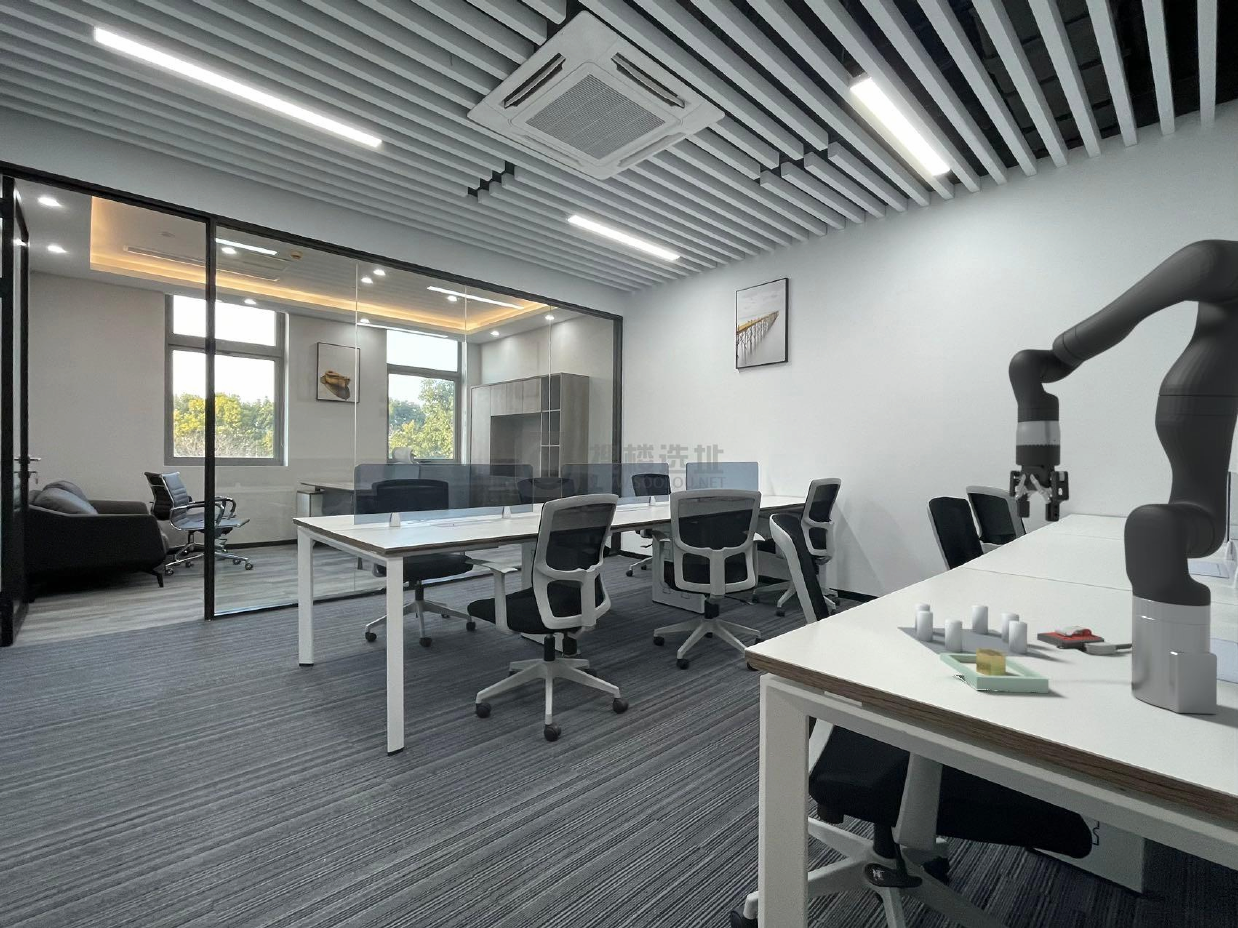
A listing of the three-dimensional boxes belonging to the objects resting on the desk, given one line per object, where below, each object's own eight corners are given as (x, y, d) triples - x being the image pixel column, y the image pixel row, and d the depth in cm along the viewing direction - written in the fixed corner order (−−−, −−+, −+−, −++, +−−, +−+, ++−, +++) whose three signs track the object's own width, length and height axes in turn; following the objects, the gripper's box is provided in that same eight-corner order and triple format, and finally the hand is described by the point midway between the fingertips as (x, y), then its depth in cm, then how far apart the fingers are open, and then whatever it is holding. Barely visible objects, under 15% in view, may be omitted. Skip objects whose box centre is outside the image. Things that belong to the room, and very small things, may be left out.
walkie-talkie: (1070, 660, 111) (1144, 653, 115) (1071, 638, 111) (1144, 632, 115) (1029, 645, 119) (1099, 639, 124) (1029, 625, 119) (1099, 620, 124)
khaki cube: (1012, 679, 97) (1013, 657, 97) (983, 678, 98) (983, 656, 98) (997, 670, 102) (997, 648, 102) (969, 669, 102) (969, 647, 102)
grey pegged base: (1050, 663, 108) (1050, 627, 108) (937, 659, 109) (937, 624, 109) (993, 634, 126) (993, 603, 126) (896, 632, 127) (897, 601, 127)
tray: (1048, 693, 93) (1048, 679, 93) (976, 690, 94) (976, 677, 94) (1003, 667, 105) (1003, 654, 105) (940, 665, 106) (940, 653, 106)
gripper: (1082, 442, 107) (1082, 523, 107) (1032, 444, 121) (1031, 516, 121) (1043, 442, 108) (1043, 522, 108) (997, 444, 122) (997, 516, 122)
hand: (1037, 519), depth 114 cm, fingers open, 8 cm apart
